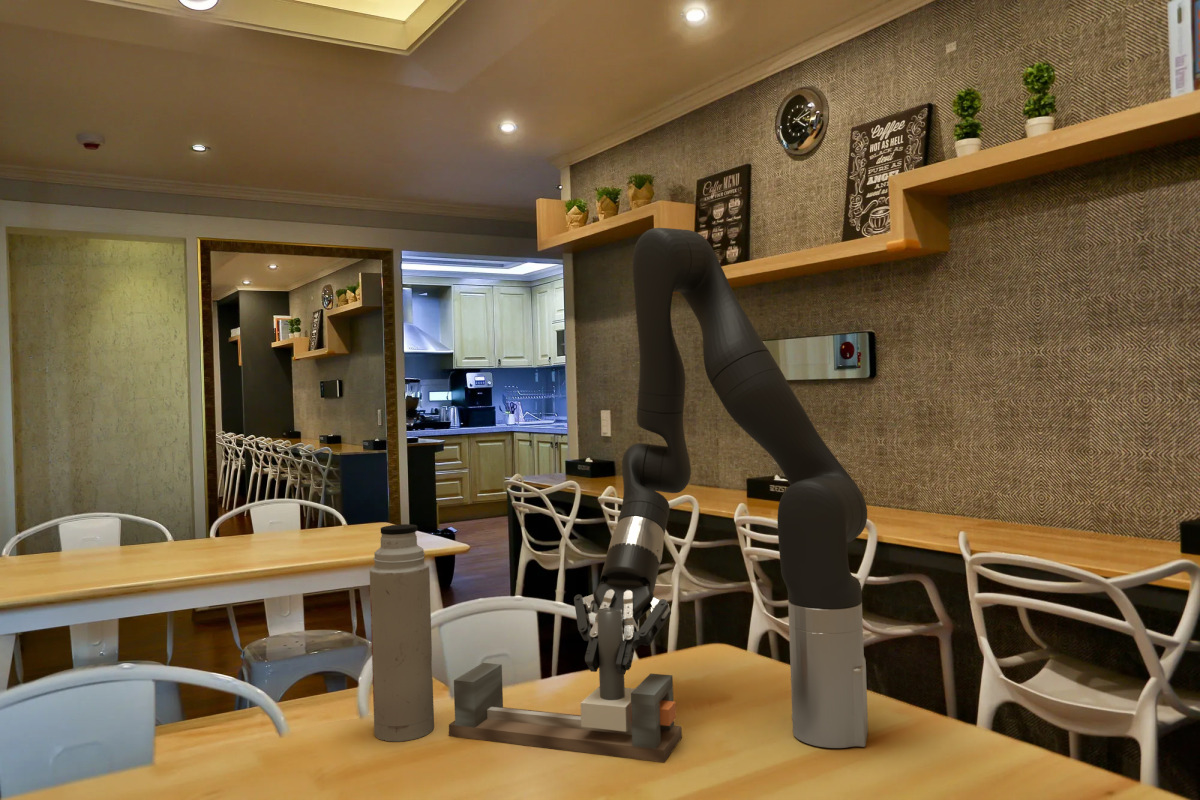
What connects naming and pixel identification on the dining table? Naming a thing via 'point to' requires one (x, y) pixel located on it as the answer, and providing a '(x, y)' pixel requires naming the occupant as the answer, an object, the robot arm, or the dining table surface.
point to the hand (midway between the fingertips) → (606, 669)
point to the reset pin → (666, 712)
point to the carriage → (608, 679)
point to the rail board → (562, 720)
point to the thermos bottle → (401, 637)
